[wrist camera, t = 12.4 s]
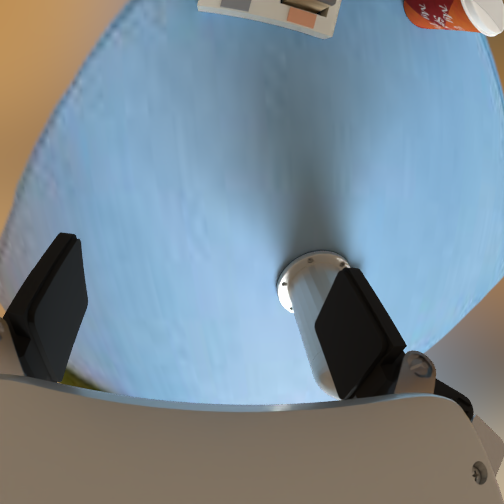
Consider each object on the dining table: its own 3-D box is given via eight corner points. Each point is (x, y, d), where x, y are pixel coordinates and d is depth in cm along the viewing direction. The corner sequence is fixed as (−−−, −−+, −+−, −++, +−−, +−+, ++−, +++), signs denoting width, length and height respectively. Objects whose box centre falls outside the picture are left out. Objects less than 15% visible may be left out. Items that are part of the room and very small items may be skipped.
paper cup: (395, 23, 27) (467, 17, 16) (397, -21, 23) (465, -38, 11) (438, 43, 28) (509, 48, 17) (440, 1, 24) (509, -4, 13)
